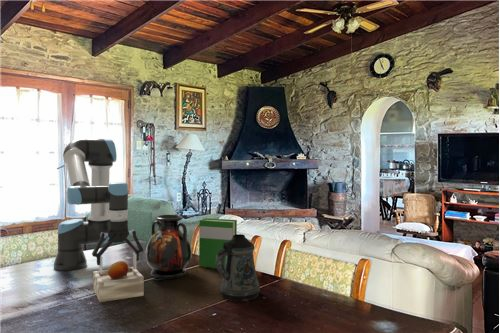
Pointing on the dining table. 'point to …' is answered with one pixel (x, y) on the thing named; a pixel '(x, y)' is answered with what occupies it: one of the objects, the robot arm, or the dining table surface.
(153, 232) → the amphora vase
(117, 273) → the fruit
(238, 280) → the beer stein
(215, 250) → the hardback book
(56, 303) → the dining table surface
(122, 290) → the square tray
